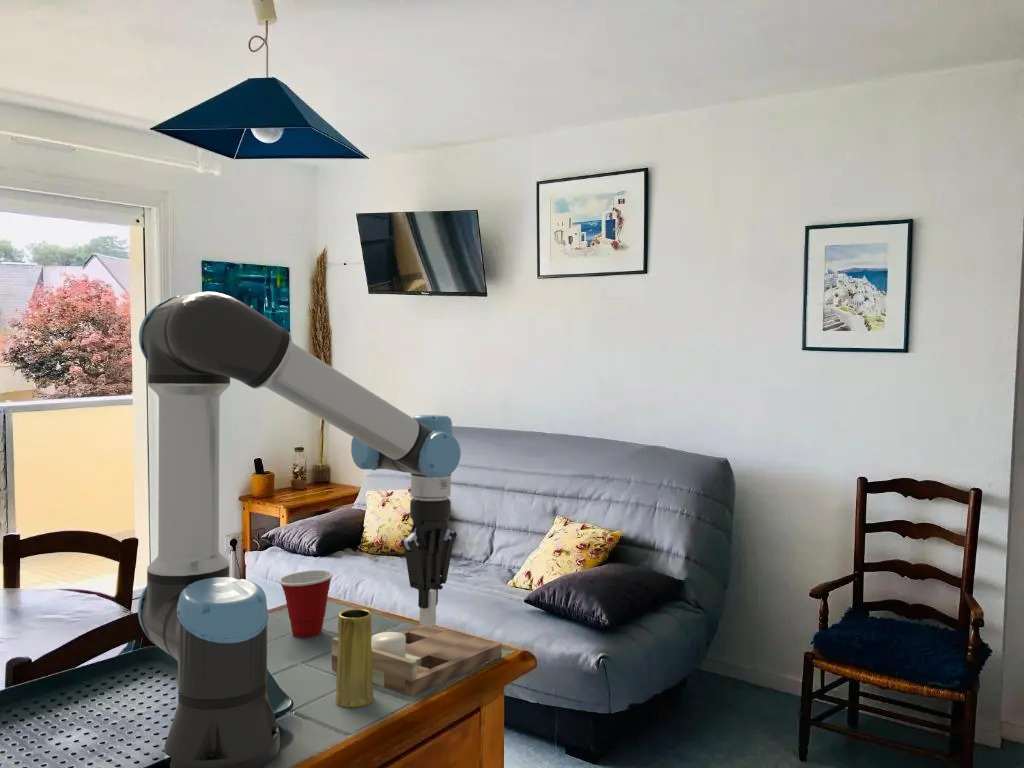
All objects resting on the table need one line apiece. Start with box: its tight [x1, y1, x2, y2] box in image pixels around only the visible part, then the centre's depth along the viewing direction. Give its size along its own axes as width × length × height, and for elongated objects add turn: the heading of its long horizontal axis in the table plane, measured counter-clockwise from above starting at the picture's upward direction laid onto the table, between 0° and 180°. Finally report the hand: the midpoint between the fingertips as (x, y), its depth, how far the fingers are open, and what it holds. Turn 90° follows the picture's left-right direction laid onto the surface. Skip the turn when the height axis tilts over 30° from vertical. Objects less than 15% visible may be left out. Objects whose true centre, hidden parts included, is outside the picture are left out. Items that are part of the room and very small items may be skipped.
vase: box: [334, 608, 375, 709], centre depth 132 cm, size 6×6×14 cm
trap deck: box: [331, 624, 503, 697], centre depth 150 cm, size 24×20×6 cm
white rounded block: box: [371, 631, 406, 658], centre depth 144 cm, size 6×6×4 cm
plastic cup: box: [278, 569, 334, 639], centre depth 166 cm, size 11×11×12 cm
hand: (427, 624), depth 152 cm, fingers closed
